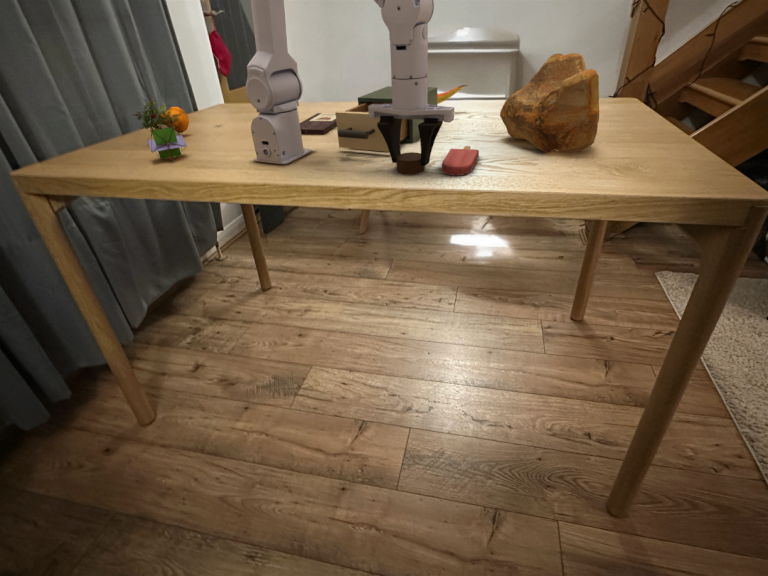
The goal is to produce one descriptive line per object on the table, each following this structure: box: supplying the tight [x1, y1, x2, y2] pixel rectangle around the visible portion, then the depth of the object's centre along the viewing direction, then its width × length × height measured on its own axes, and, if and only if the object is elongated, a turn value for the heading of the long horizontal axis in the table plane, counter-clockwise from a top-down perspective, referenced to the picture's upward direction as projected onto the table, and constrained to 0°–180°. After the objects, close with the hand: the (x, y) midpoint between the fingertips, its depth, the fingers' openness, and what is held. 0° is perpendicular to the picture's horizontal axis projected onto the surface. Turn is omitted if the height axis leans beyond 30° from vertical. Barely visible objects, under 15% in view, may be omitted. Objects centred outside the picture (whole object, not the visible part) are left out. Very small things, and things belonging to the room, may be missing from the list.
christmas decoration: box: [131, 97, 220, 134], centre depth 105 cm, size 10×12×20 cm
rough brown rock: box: [499, 52, 600, 153], centre depth 83 cm, size 23×17×15 cm
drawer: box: [334, 102, 409, 153], centre depth 87 cm, size 18×11×7 cm, turn 154°
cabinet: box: [357, 85, 438, 144], centre depth 96 cm, size 15×13×9 cm
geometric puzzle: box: [146, 125, 187, 162], centre depth 88 cm, size 7×7×8 cm
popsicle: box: [441, 145, 480, 176], centre depth 78 cm, size 5×2×15 cm
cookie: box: [395, 152, 426, 176], centre depth 75 cm, size 5×5×2 cm
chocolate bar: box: [299, 112, 337, 135], centre depth 109 cm, size 9×1×18 cm
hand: (410, 162), depth 75 cm, fingers closed on cookie, 5 cm apart
